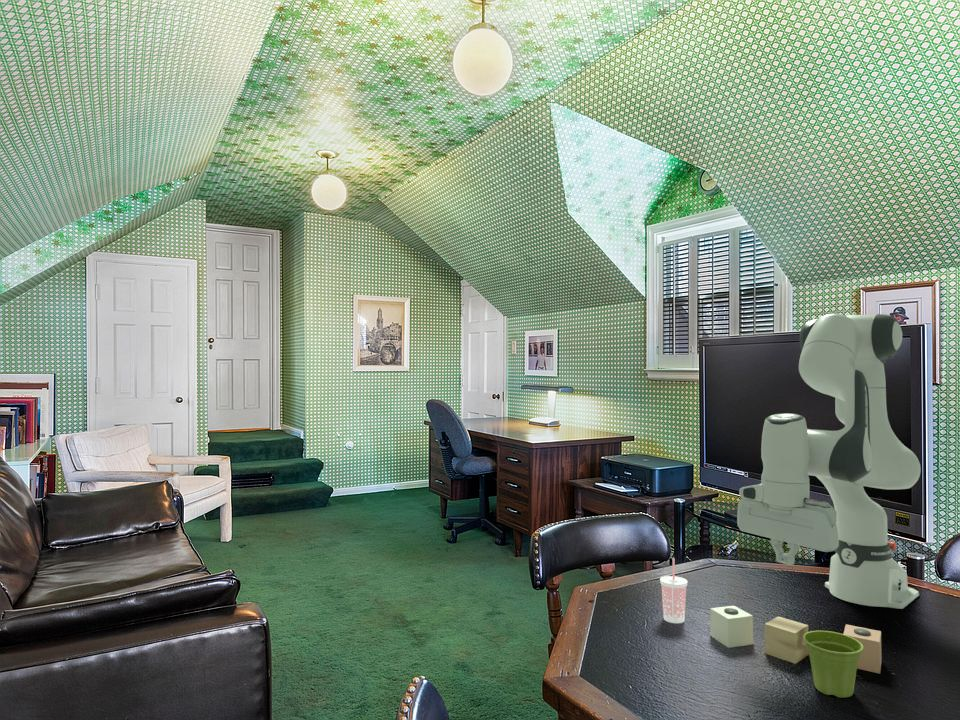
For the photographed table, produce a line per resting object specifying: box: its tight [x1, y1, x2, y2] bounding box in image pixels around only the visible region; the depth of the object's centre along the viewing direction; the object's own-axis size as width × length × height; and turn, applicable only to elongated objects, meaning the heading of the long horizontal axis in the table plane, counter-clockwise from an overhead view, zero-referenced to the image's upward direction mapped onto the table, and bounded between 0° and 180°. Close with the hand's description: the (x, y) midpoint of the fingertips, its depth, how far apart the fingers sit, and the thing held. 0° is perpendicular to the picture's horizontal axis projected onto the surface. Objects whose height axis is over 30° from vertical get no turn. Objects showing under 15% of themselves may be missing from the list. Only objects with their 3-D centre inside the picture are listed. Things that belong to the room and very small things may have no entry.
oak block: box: [764, 616, 809, 665], centre depth 127 cm, size 6×6×6 cm
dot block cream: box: [709, 605, 754, 649], centre depth 133 cm, size 6×6×6 cm
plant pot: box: [803, 630, 863, 699], centre depth 112 cm, size 9×9×9 cm
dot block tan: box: [842, 623, 882, 675], centre depth 122 cm, size 6×6×6 cm
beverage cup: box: [659, 557, 689, 624], centre depth 144 cm, size 6×6×14 cm
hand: (785, 563), depth 127 cm, fingers closed
